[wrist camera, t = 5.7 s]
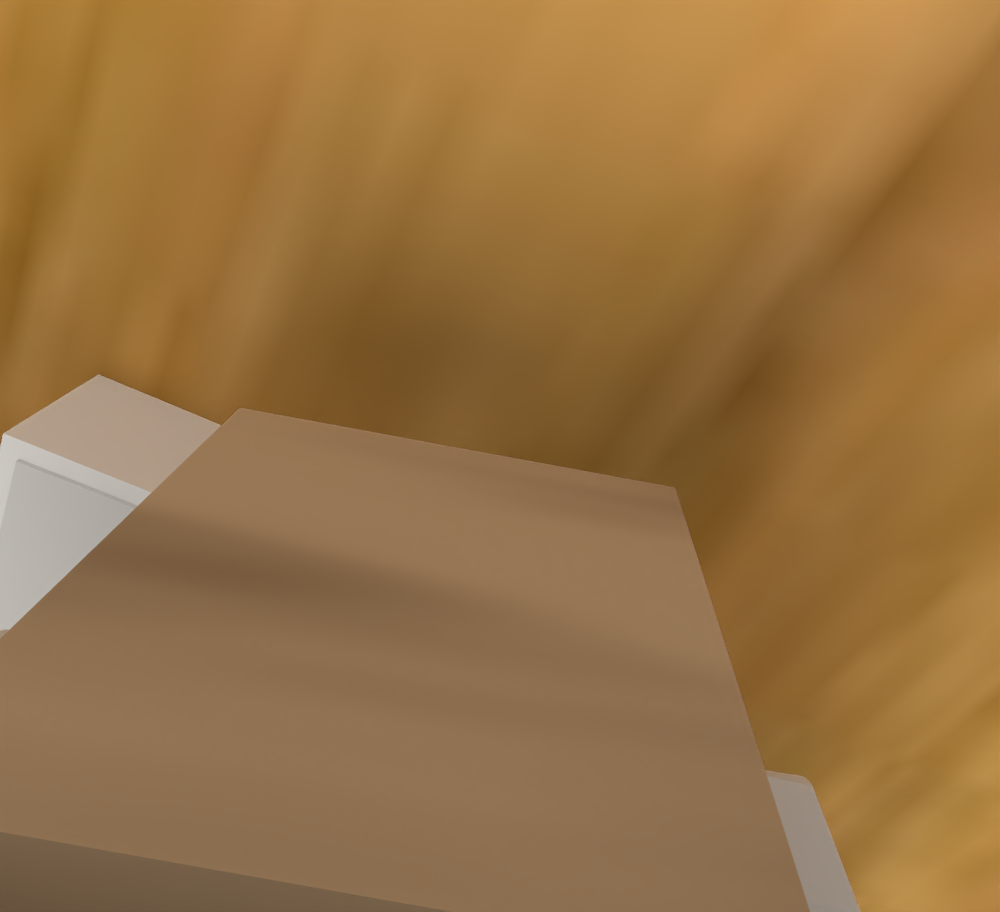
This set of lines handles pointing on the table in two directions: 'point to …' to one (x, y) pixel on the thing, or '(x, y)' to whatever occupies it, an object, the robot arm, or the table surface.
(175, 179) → the table surface
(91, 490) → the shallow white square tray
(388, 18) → the table surface
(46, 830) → the oak block
